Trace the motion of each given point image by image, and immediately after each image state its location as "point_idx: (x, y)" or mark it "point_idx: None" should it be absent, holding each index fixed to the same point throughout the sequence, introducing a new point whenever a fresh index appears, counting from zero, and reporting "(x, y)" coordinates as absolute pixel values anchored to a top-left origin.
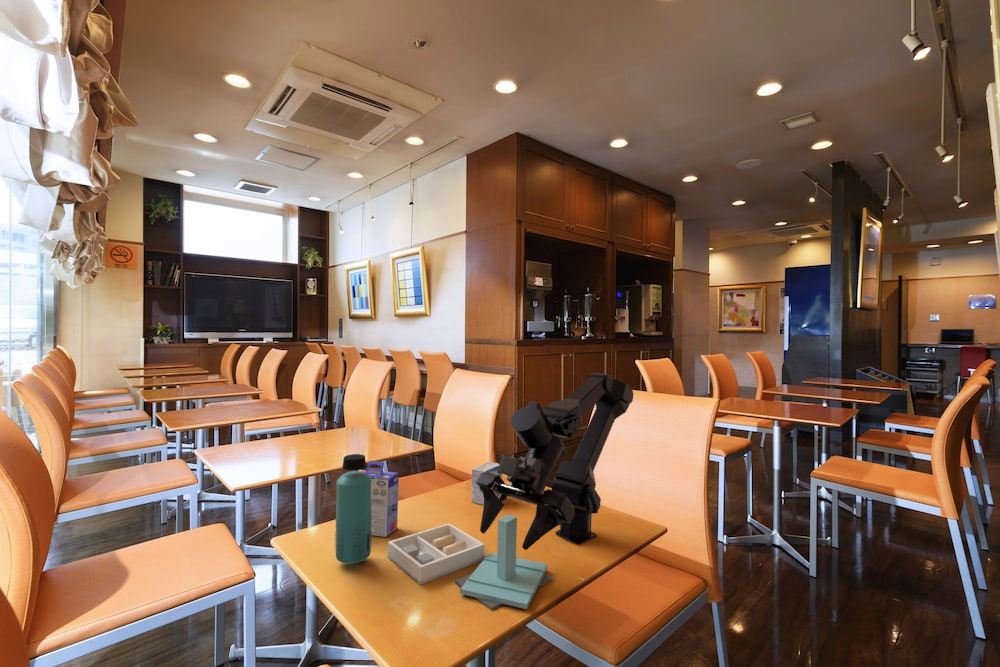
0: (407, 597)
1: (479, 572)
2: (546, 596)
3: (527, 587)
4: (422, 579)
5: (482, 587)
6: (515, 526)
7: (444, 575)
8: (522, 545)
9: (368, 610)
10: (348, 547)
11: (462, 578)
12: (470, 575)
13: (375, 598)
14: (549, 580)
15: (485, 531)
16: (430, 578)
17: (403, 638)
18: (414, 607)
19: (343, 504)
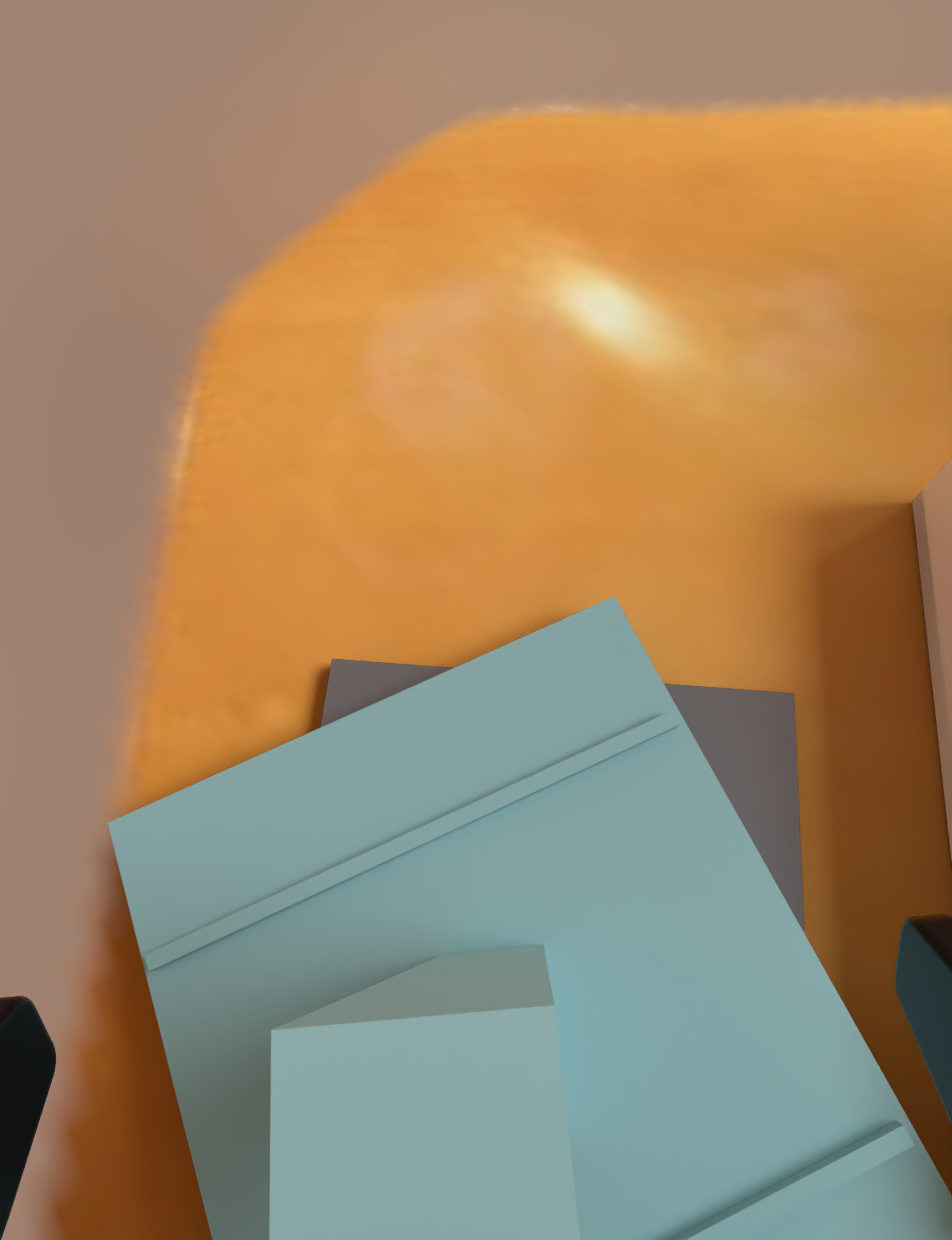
0: (822, 376)
1: (716, 884)
2: (116, 1133)
3: (230, 1027)
4: (929, 498)
5: (511, 732)
6: None
7: (935, 706)
8: (9, 1005)
9: (833, 189)
10: None
11: (779, 758)
12: (776, 841)
13: (927, 252)
14: None
15: (916, 1032)
16: (931, 572)
17: (506, 212)
18: (698, 357)
19: None
